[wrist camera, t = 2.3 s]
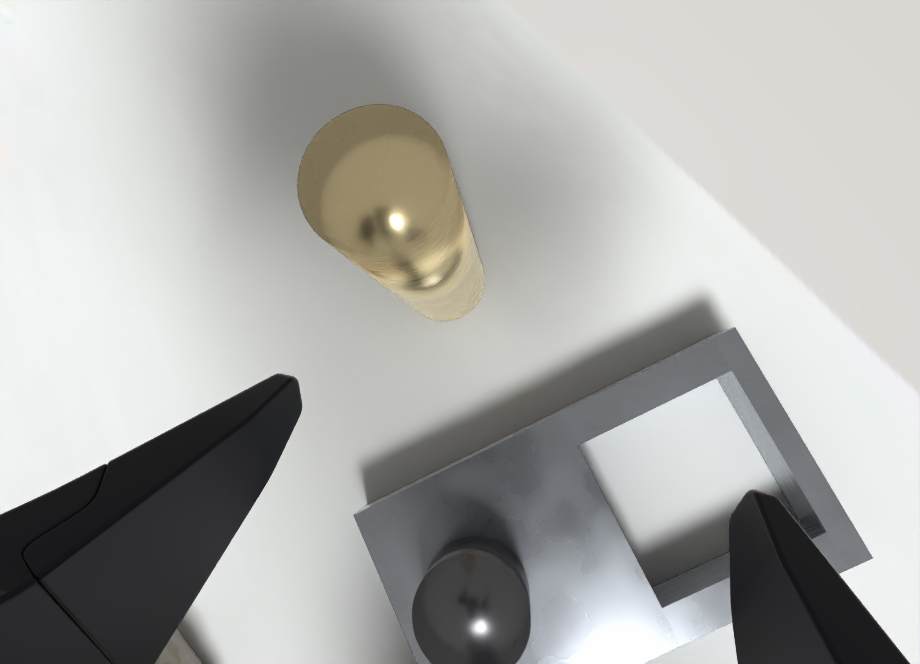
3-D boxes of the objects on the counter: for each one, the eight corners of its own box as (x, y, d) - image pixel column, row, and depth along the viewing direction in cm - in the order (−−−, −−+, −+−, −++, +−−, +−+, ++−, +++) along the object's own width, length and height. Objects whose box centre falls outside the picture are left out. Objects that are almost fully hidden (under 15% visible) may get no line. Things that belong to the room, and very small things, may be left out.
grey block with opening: (460, 717, 22) (444, 796, 18) (367, 504, 24) (332, 530, 19) (840, 542, 21) (922, 581, 17) (716, 332, 23) (762, 318, 18)
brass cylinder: (425, 335, 24) (334, 282, 13) (391, 264, 25) (274, 149, 13) (499, 297, 24) (477, 207, 12) (462, 227, 25) (408, 77, 13)
